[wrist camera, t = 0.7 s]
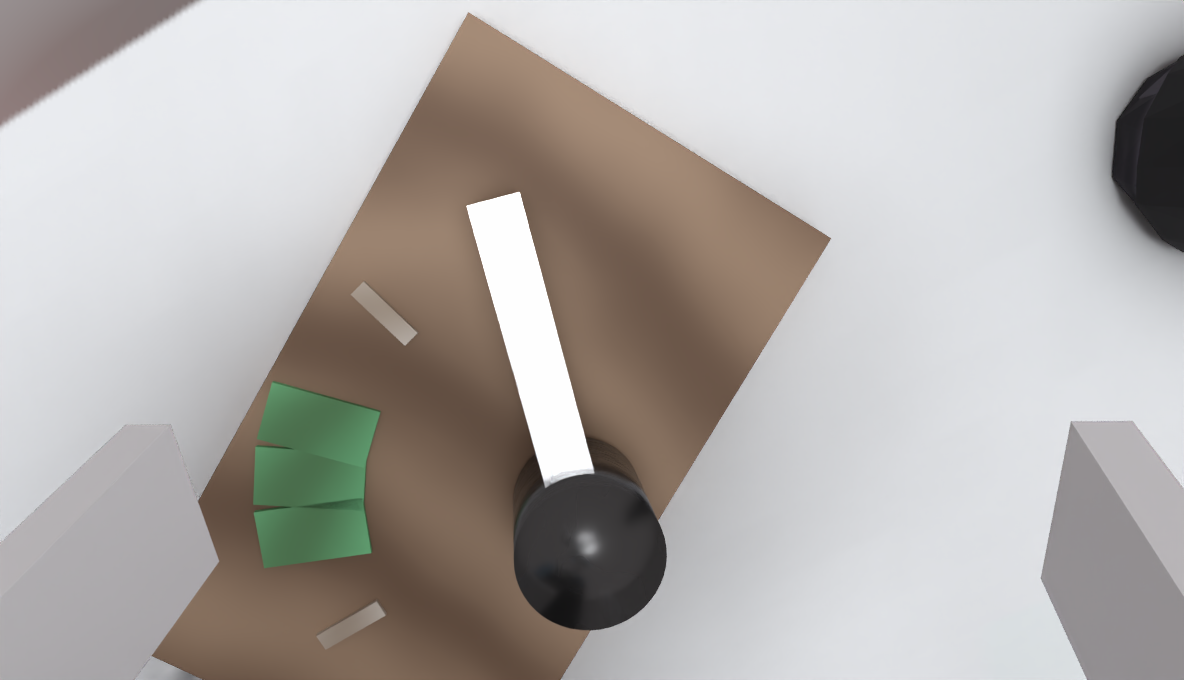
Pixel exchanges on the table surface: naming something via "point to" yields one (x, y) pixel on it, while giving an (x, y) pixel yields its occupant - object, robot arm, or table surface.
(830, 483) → the table surface
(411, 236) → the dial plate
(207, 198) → the table surface
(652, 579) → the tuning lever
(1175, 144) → the portable speaker
